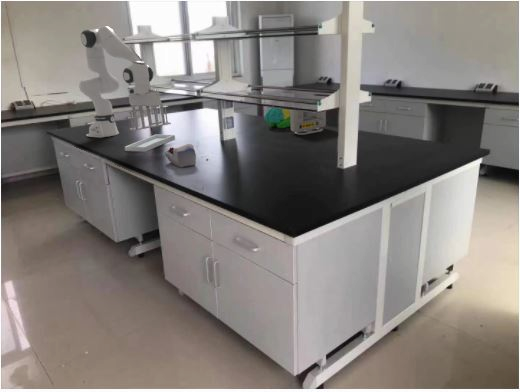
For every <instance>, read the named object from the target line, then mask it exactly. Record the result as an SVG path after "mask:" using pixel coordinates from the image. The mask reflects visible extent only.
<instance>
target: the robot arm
mask: <svg viewBox="0 0 520 392" xmlns="http://www.w3.org/2000/svg"><path fill="white" fill-rule="evenodd" d="M80 41H81V43H82V45H83V46H84V47H85V54H86V61H87V68H88V69H89V71H91V72H93V73H95V74H97V75H98V76H97V77H88V78H85V79H82V80H80V82H79V91H80V92H81V93H82V94H83V95H85V97H87V98H88V99H90V101H91V102H92V104H93V106H94V110H95V114H96V115H95V116H94V115H93V118H94V119H95V120H94V121H93V122H92V124H91V125H90V126H89V128H88V130H89V131H88V132H89V133H86V137H91V138H100V139H101V138H105V137H111V136H116V135H119V134H120V132H119V131H118V127H117V124H116V121H115V119H116V118H115V113H114V111H113V105H112V102H111V101H110V100H108V99H107V98H103V97H102V95H104V94H112V93H115V92H118V91H119V88H120V82H119V80H118V79H117V77H116V76H114V75H113V74H111V72H110V71H109V70H108V67H107V63H106V58H105V52H106V53H107V54H108V55H109V56H111V57H113V58H119V59H124V60H127V61H129V62H131V65H130V66H128V67H125V68H124V70H123V71H122V78H123V80H124V82H125V83H126V84H128V85H134V87H133V88H131V89H130V88H129V89H128V104H129V105H130V106H131V107H137V108H138V110H140V109H139V106H142V107H146V106H149V108H151V109H150V110H149V113H150V114H154V109H153V108H154V106H156V107H160V105H161V103H162V101H161V100H162V99H161V96H160V92H159V90H157V89H152V87H151V82H152V80H153V78H154V71H153V69H152V68H151V66H149V65H148V64H147V62H145V61H144V60H143V59H142V58H141V57H140V56H139V55H138V53H137V52H136V51H135V50H134V49H133V48H132V47H130V46H128V45H127V44H126V43H124V42H123V41H122V40H121V38H120V37H119V35H117V33H116V31H115V30H114V29H113V28H111V27H110V26H106V25H104V26H101V27H100V28H93V29H92V28H91V29H84V30H83V31H82V32H81V33H80ZM104 50H105V52H104ZM143 114H145V110H144V111H143Z"/></svg>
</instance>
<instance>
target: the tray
mask: <svg viewBox="0 0 520 392" xmlns="http://www.w3.org/2000/svg"><path fill="white" fill-rule="evenodd" d="M175 139H176V134H160V133H159V134H156V133H155V134H153V135H151V136H149V137H145V138H144V139H141V140H138V141H136V142H132V143H131V144H129V145H126V146H125V145H124V151H126V152H144V153H145V152H148V151H150V150H153V149H155V148H157V147H160V146H161V145H164V144H166V143H168V142H171V141H173V140H175Z"/></svg>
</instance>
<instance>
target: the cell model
mask: <svg viewBox="0 0 520 392" xmlns="http://www.w3.org/2000/svg"><path fill="white" fill-rule="evenodd" d="M164 155H165V157H166V158H167V160H168V161H169V162H170V163H171V164H172V165H175V166H176V167H179V168H184V167H189V166H190V167H191V166H195V165H196V164H197V160H196V159H197V155H196V150H195V148H194V145H193V144H192V143H188V144H187V143H186V144H185V145H184V144H183V145H181V146H178V147H175V148H174V147H173V146H172V147H169V149H167V150H166V151H165V152H164Z"/></svg>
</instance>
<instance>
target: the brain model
mask: <svg viewBox="0 0 520 392" xmlns="http://www.w3.org/2000/svg"><path fill="white" fill-rule="evenodd" d="M264 121H265V122H266V123H267V124H268V125H269V126H270V127H272V128H274V127H277V128H278V129H286V128H288V127H290V128H291V123H290V110H287V109H279V108H272V107H271V108H269V109H268V110H267V112H266V113H265V114H264Z"/></svg>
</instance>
